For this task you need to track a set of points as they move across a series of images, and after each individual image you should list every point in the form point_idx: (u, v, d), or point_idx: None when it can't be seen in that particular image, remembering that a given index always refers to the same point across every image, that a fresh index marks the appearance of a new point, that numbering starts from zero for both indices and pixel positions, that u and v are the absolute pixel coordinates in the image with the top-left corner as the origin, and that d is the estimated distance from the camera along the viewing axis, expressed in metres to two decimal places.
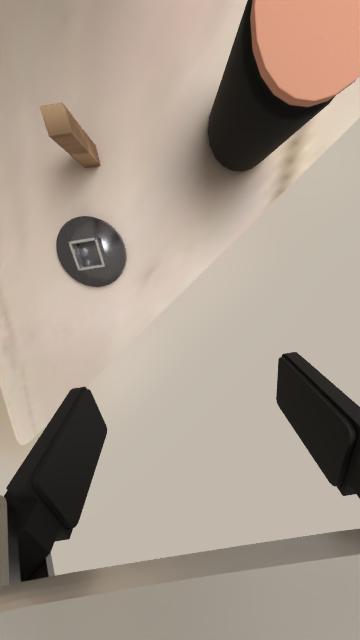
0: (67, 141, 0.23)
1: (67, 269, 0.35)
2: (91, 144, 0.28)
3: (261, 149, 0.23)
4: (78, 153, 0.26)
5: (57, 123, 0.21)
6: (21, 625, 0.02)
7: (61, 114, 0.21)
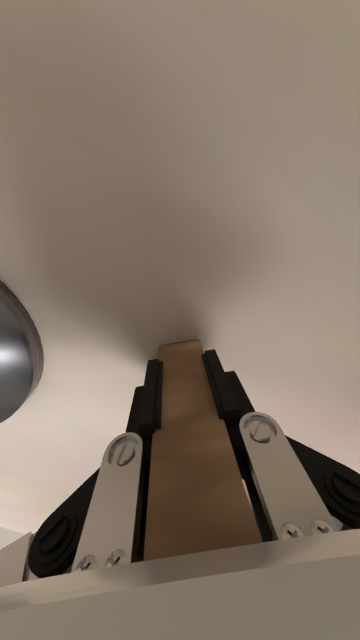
0: None
1: None
2: None
3: None
4: None
5: None
6: (21, 625, 0.02)
7: None
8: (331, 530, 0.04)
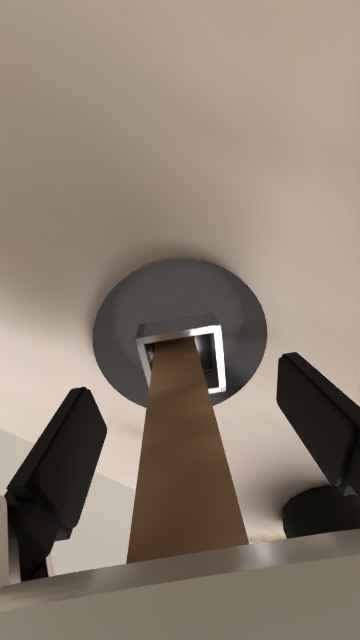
0: None
1: (134, 279, 0.11)
2: None
3: None
4: None
5: None
6: (21, 625, 0.02)
7: None
8: None
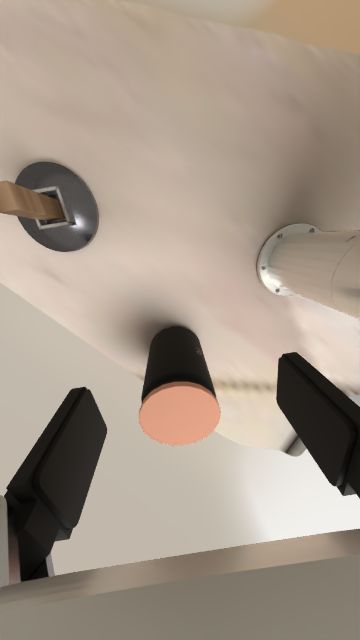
0: None
1: (27, 171, 0.27)
2: (52, 217, 0.27)
3: None
4: None
5: None
6: (21, 625, 0.02)
7: (7, 204, 0.20)
8: None
